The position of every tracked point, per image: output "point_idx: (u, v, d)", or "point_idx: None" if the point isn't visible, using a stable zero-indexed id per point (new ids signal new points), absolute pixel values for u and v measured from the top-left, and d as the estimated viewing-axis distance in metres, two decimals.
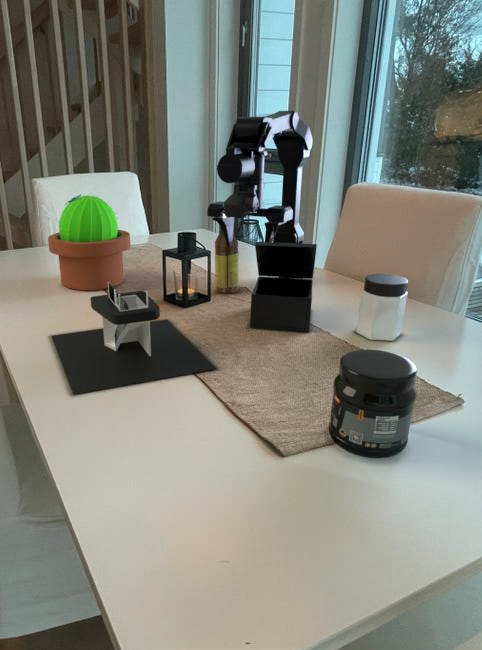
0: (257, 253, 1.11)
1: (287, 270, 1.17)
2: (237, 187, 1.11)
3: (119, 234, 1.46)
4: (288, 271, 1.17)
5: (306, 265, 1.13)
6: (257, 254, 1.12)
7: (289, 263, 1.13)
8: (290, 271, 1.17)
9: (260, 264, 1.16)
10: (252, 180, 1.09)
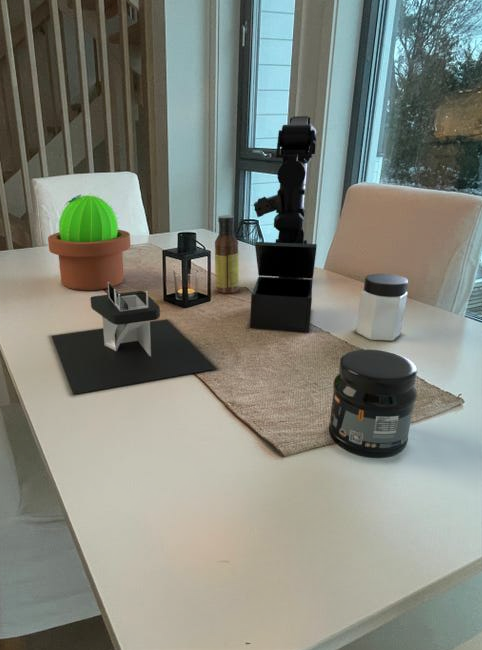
0: (257, 253, 1.11)
1: (287, 270, 1.17)
2: None
3: (119, 234, 1.46)
4: (288, 271, 1.17)
5: (306, 265, 1.13)
6: (257, 254, 1.12)
7: (289, 263, 1.13)
8: (290, 271, 1.17)
9: (260, 264, 1.16)
10: (281, 184, 1.16)
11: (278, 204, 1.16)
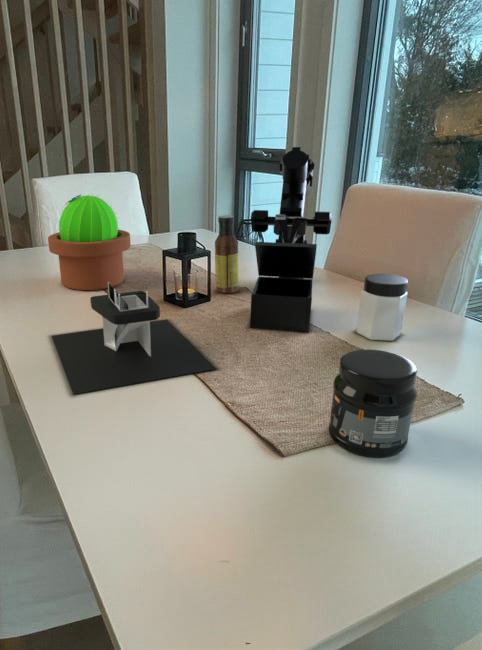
0: (257, 253, 1.11)
1: (287, 270, 1.17)
2: None
3: (119, 234, 1.46)
4: (288, 271, 1.17)
5: (306, 265, 1.13)
6: (257, 254, 1.12)
7: (289, 263, 1.13)
8: (290, 271, 1.17)
9: (260, 264, 1.16)
10: None
11: None
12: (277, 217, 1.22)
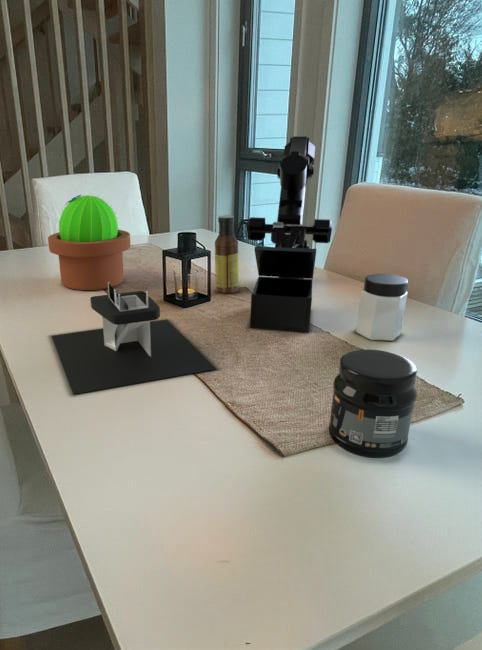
0: (257, 256, 1.11)
1: (287, 271, 1.17)
2: None
3: (119, 234, 1.46)
4: (288, 272, 1.17)
5: (306, 267, 1.13)
6: (257, 258, 1.12)
7: (289, 265, 1.13)
8: (290, 272, 1.17)
9: (260, 266, 1.16)
10: None
11: None
12: (274, 225, 1.15)
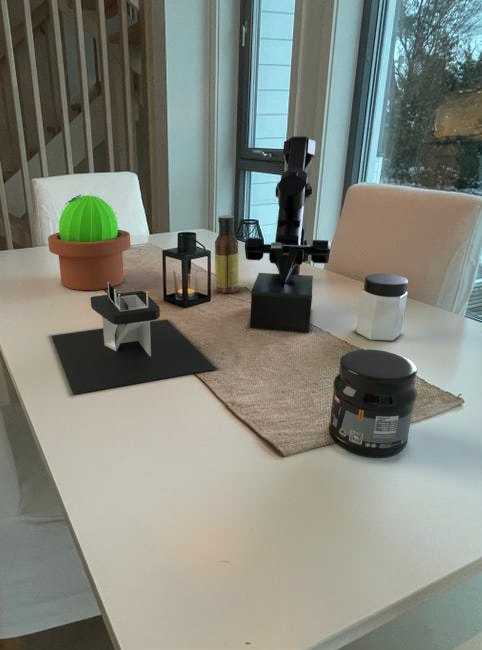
0: None
1: None
2: None
3: (119, 234, 1.46)
4: None
5: None
6: None
7: None
8: None
9: None
10: None
11: None
12: (273, 245, 1.15)
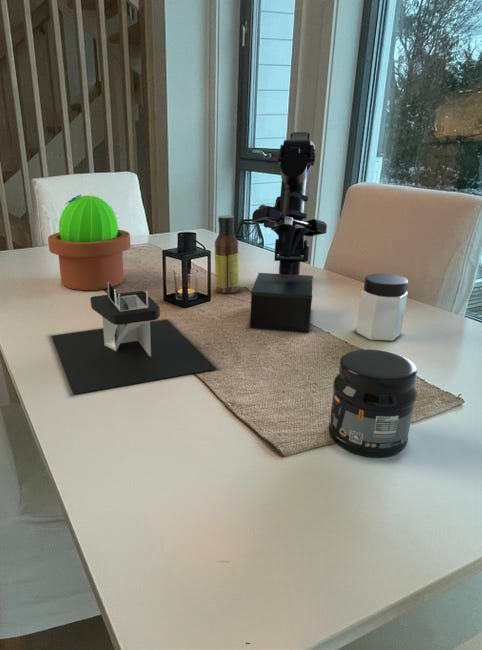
0: None
1: None
2: None
3: (119, 234, 1.46)
4: None
5: None
6: None
7: None
8: None
9: None
10: None
11: None
12: (286, 219, 1.18)
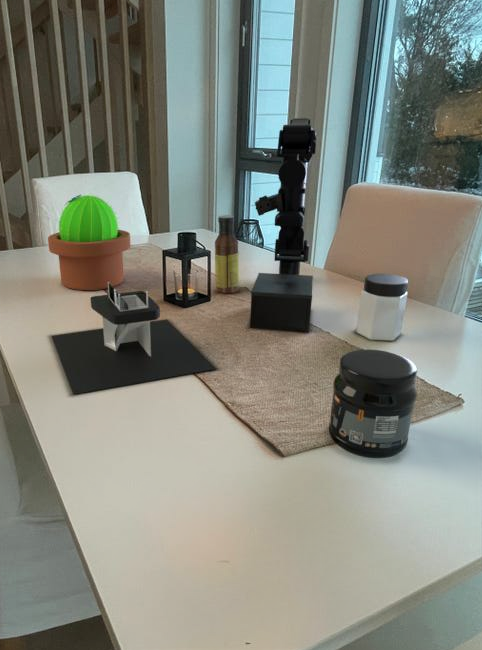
0: None
1: None
2: (279, 189, 1.21)
3: (119, 234, 1.46)
4: None
5: None
6: None
7: None
8: None
9: None
10: (282, 183, 1.17)
11: (279, 203, 1.18)
12: None
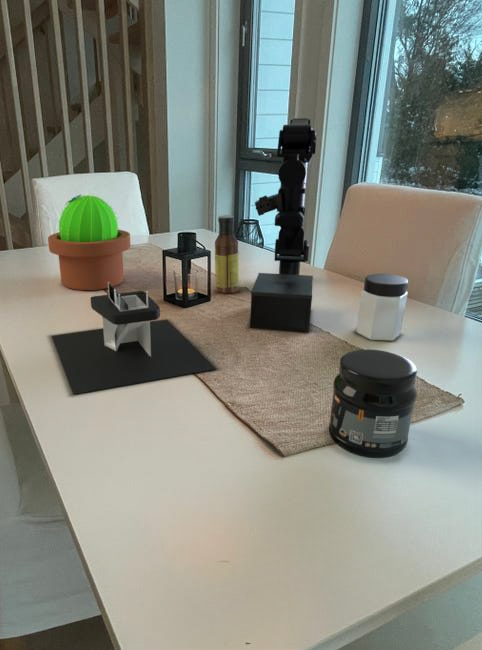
0: None
1: None
2: (279, 189, 1.21)
3: (119, 234, 1.46)
4: None
5: None
6: None
7: None
8: None
9: None
10: (282, 183, 1.17)
11: (279, 203, 1.18)
12: None
